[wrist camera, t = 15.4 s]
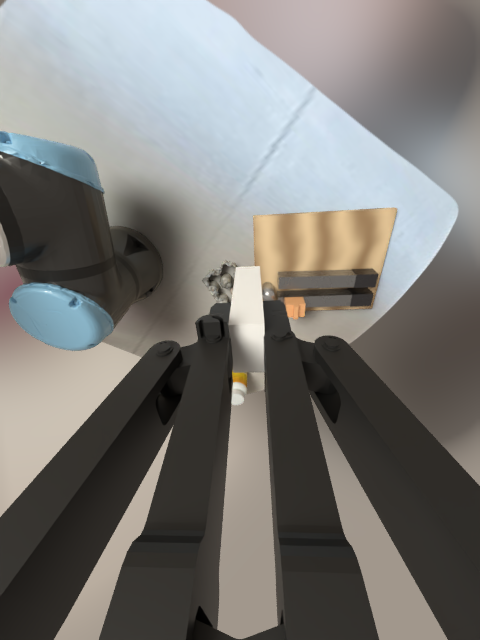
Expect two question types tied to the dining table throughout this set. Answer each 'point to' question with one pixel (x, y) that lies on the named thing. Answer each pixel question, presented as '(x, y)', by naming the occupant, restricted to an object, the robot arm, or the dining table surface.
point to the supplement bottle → (239, 388)
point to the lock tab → (295, 307)
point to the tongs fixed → (322, 296)
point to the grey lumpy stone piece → (225, 282)
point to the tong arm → (327, 279)
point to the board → (322, 244)
